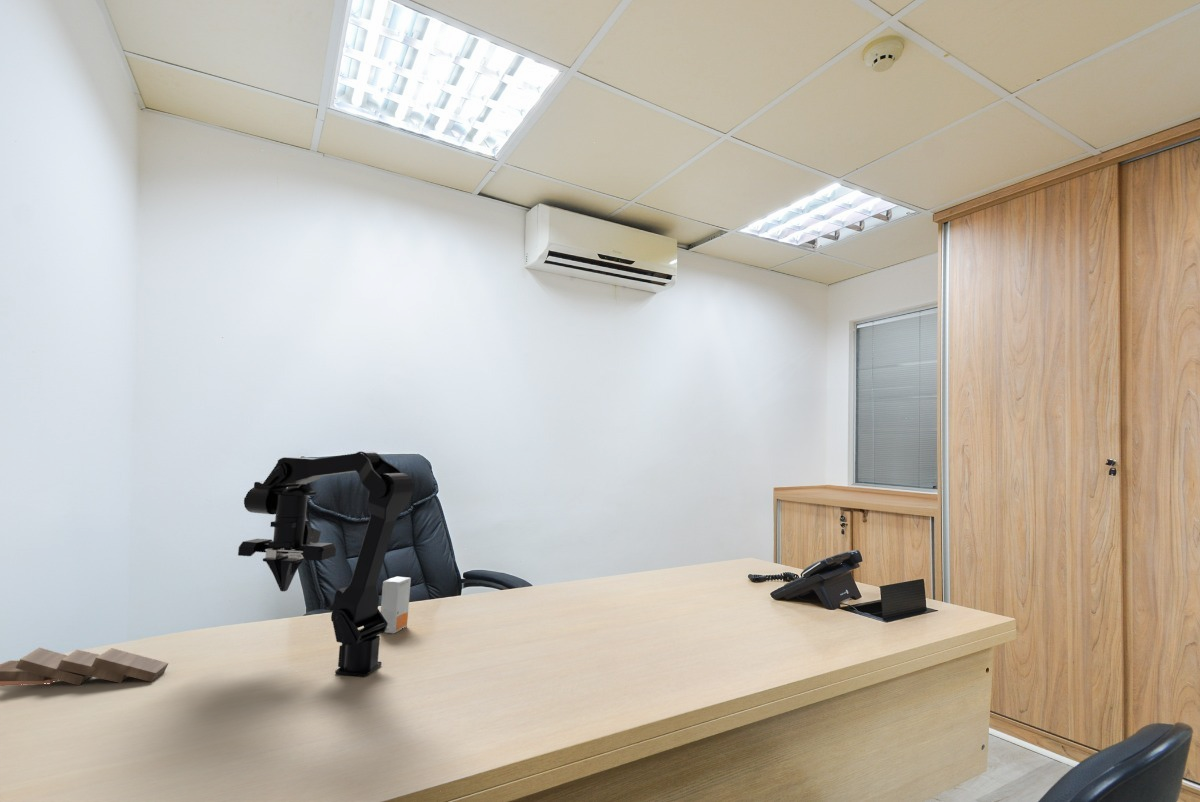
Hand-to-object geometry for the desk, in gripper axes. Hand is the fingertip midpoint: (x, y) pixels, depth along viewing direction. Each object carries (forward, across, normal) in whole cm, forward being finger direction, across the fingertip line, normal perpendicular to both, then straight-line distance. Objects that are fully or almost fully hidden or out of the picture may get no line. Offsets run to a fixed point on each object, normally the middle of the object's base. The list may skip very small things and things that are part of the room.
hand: (284, 590), depth 119 cm
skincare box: (+13, -15, -21) cm, 29 cm away
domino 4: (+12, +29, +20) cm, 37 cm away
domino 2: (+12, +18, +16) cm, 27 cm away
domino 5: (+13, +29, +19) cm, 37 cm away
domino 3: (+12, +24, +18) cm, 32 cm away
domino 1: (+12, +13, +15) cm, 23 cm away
